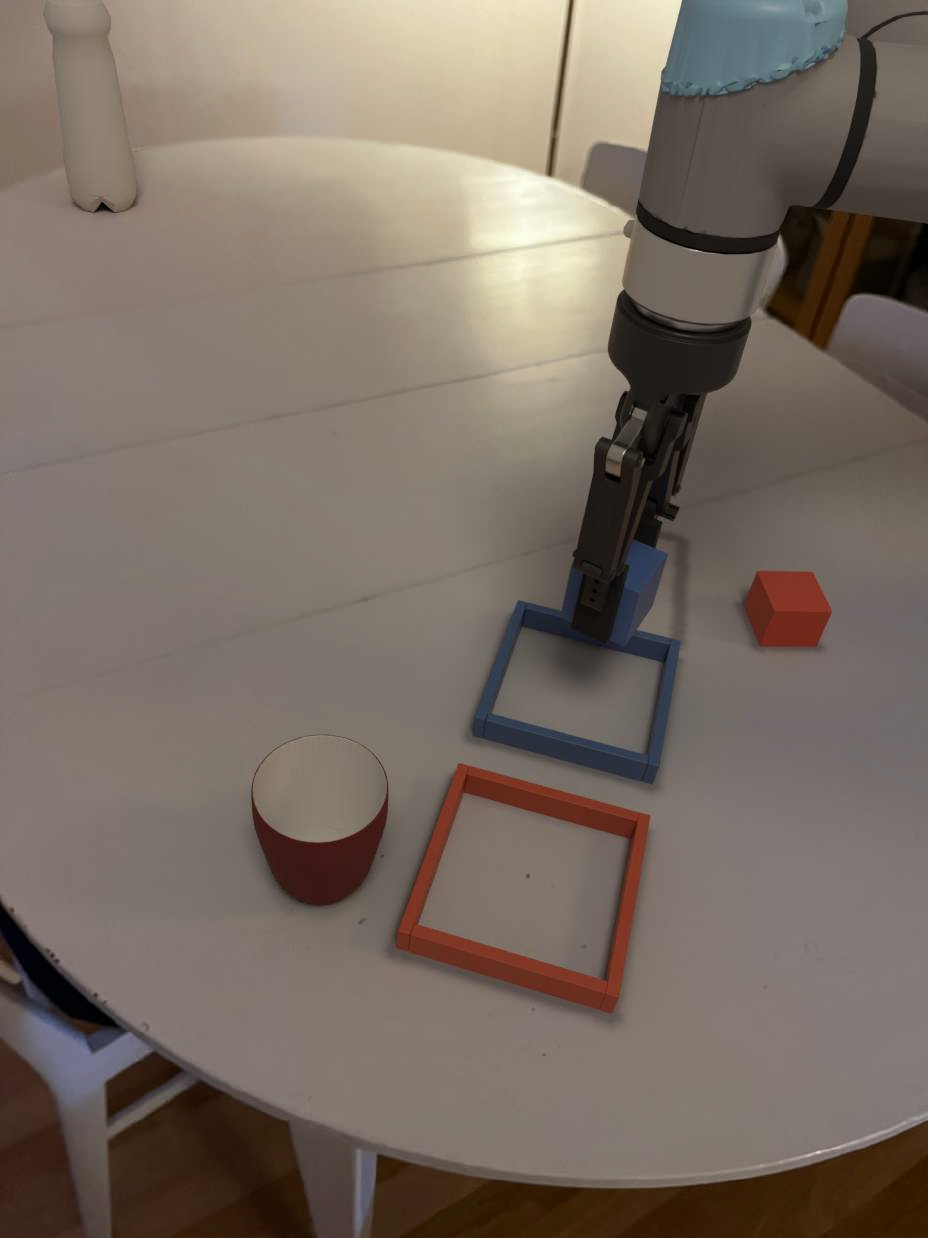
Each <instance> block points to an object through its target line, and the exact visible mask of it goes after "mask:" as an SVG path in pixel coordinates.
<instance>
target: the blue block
mask: <svg viewBox="0 0 928 1238" xmlns="http://www.w3.org/2000/svg"><path fill="white" fill-rule="evenodd" d="M668 556H669V553H667V552H664V551H662V550H661V549H658V548H653V547H651V546H648V545H646V544H644V543H641V542H639V541H636V540H634V539H633V541H632V544H631V547H630V550H629V553H628V556H627V559H626V562H625V564H627V565H629V570H628V574H627V578H626V581H625V585H624V589H623V592H622V596H621V600H620V604H619V607H618V611H617V615H616V619H615V623H614V626H613V630H612V634H611V638H610V639H609V640H610V641H613V642H615V643H617V644H619V645H621V646H624V647H625V646H626V644H627V643H628V641H629V640H630V638H631V637H632V636H633V634H634V633H635V631H636V630H638V628H639V627H640V625H641V624H642V623H643V621H644V620H645V618H646V617H647V615H648V614H649V612H650V611H651V610H652V608H653V606H654V603H655V600H656V596H657V593H658V589H659V587H660V583H661V580H662V576H663V573H664V570H665V566H666V564H667V560H668ZM582 576H583V573H582V572H580V571H577V570H575V569H573V562H571V564H570V569H569V574H568V579H567V583H566V588H565V593H564V597H563V602H562V607H561V610H560V611H561V615H560V618H562V619H564V620H566V621H569V622H571V623H572V620H573V616H574V611H575V607H576V602H577V598H578V593H579V589H580V585H581V580H582Z"/></svg>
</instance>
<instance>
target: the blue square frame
mask: <svg viewBox="0 0 928 1238" xmlns="http://www.w3.org/2000/svg"><path fill="white" fill-rule="evenodd" d="M561 611H562V610H560V609H556V608H551V607H548V606H544V605H539V604H535V603H531V602H527V601H524V600H520V599H518V600H516V604H515V606H514V609H513V612H512V615H511V617H510V620H509V623H508V626H507V629H506V631H505V633H504V636H503V638H502V642H501V645H500V649H499V651H498V654H497V656H496V658H495V661H494V664H493V667H492V670H491V672H490V675H489V678H488V681H487V683H486V686H485V689H484V691H483V694H482V697H481V700H480V702H479V705H478V708H477V711H476V715H475V717H474V723H473V729H472V737H475V738H478V739H483V740H486V741H490V742H493V743H497V744H500V745H504V746H508V747H512V748H516V749H519V750H523V751H526V752H530V753H534V754H537V755H541V756H545V757H549V758H553V759H555V760H560V761H563V762H567V763H570V764H574V765H578V766H581V767H585V768H589V769H593V770H597V771H600V772H604V773H608V774H612V775H616V776H619V777H623V778H626V779H630V780H634V781H636V782H637V781H638V782H642V783H644V784H647V785H652V786H653V785H654V784H655V783H654V782H655V781H656V777H657V775H658V770H659V769H660V763H661V758H662V752H663V746H664V740H665V736H666V729H667V724H668V719H669V712H670V707H671V706H670V705H671V700H672V695H673V689H674V683H675V678H676V671H677V666H678V661H679V654H680V650H681V649H680V648H681V643H682V641H681V640H680V639H677V638H672V637H668V636H664V635H660V634H659V635H658V634H655V633H650V632H647V631H643V630H640V629H637V630H636V631H635V633H634V634H633V636H632V637H631V638H630V640H629V641H628V643H627V644H626V646H625V647H624V646H621V645H619V644H617V643H615V642H613V641H610V640H609V641H608V642H607V644H605V643H603V642H600V641H598V640H596V639H594V638H592V637H589V636H587V635H585V634H583V633H581V632H578V631H576V630H574V629H572V628H571V624H572V623H571V622H569V621H566V620H564V619H562V618H560V615H561ZM522 628H526V629H530V630H534V631H538V632H542V633H546V634H549V635H553V636H556V637H557V636H558V637H560V638H566V639H569V640H574V641H577V642H580V643H581V642H582V643H585V644H589V645H592V646H597V647H601V648H605V649H609V650H613V651H616V652H621V653H625V654H627V655H632V656H636V657H640V658H644V659H647V660H652V661H656V662H659V663H663V667H662V673H661V678H660V683H659V688H658V694H657V699H656V704H655V710H654V716H653V721H652V726H651V727H652V728H651V731H650V736H649V743H648V748H647V752H646V754H645V753H640V752H637V751H633V750H629V749H625V748H622V747H618V746H614V745H610V744H606V743H603V742H599V741H596V740H591V739H587V738H584V737H581V736H577V735H573V734H570V733H565V732H561V731H558V730H556V729H555V730H554V729H550V728H546V727H543V726H541V725H540V726H539V725H536V724H532V723H528V722H524V721H520V720H517V719H513V718H509V717H506V716H502V715H498V714H494V713H493V710H494V708H495V705H496V702H497V699H498V697H499V693H500V691H501V688H502V684H503V682H504V679H505V677H506V673H507V670H508V667H509V664H510V662H511V660H512V659H511V658H512V656H513V653H514V651H515V648H516V644H517V641H518V639H519V636H520V633H521V630H522Z"/></svg>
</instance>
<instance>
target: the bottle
mask: <svg viewBox="0 0 928 1238" xmlns="http://www.w3.org/2000/svg"><path fill="white" fill-rule="evenodd" d="M42 17H43V19H44V22H45V24H46V28H47V30H48V31H49V33H50V35H51V36H52V52H51V53H52V55H51V57H52V64H53V72H54V79H55V89H56V96H57V105H58V111H59V120H60V126H61V127H60V128H61V136H62V143H63V152H62V159H63V165H64V169H65V175H66V180H67V184H68V188H69V195H70V197H71V198H72V200H73V201H74V202H75V203H76V204H77V205H78V207H79V208H81V209H82V210H84V211H85V212H91V213H94V212H95V211H97V210H98V209H99V208H100V205H102V204H101V203H103V204H104V205H106V207H107V208H109V209H110V210H111V211H112V212H113V213H120V212H125V211H127V210H128V209H130V208H131V207H132V205H133V203H134V201H135V199H136V195H137V187H138V186H137V185H138V180H137V170H136V161H135V157H134V155H133V154H134V153H133V151H132V148H131V144H130V138H129V133H128V127H127V122H126V121H127V120H126V115H125V111H124V104H123V99H122V94H121V92H122V91H121V87H120V82H119V75H118V70H117V64H116V58H115V55H114V53H113V50H112V49H113V48H112V46H111V43H110V40H109V34H110V33H111V29H112V16H111V15H110V13H109V11H108V9H107V7H106V5H105V3H104V1H103V0H46V1H45V5H44V9H43V11H42Z"/></svg>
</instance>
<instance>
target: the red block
mask: <svg viewBox="0 0 928 1238" xmlns="http://www.w3.org/2000/svg"><path fill="white" fill-rule="evenodd" d="M743 609H744V611H745V613H746V616H747V619H748V620H749V624H750V626H751V629H752V631H753V634H754V636H755V638H756V641H757V643H758V645H759V647H762V648H766V647H767V648H768V647H769V648H770V647H771V648H775V647H776V648H779V647H783V648H784V647H785V648H817V647H818V645H819V642H820V640H821V638H822V635H823V633H824V631H825V629H826V626H827V624H828V622H829V620H830V618H831V615H832V613H833V610H832V607H831V606H830V603H829V602H828V599H827V597H826V596H825V594H824V591H823V589H822V587H821V585H820V583H819V581H818V579H817V577H816V576H815V573H814V572H813V571H800V570H799V571H797V570H795V571H793V570H792V571H789V570H756V572H755V574H754V578H753V580H752V583H751V585H750V588H749V591H748V594H747V596H746V599H745V602H744V605H743Z"/></svg>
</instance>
